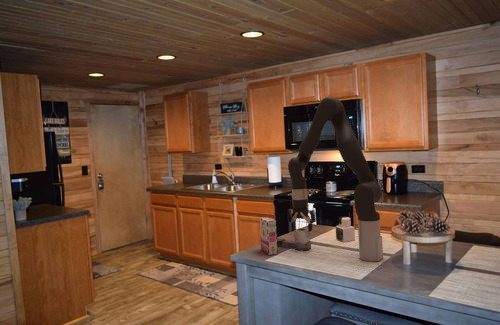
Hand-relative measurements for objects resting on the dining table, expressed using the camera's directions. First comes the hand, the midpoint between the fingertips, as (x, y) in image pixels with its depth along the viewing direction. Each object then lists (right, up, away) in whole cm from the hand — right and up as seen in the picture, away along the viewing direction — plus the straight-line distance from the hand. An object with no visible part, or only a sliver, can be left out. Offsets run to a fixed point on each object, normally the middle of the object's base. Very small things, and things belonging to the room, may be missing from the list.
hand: (302, 230), depth 187 cm
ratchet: (-5, -9, +5) cm, 12 cm away
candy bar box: (-16, -10, -2) cm, 19 cm away
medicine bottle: (+24, -7, +12) cm, 28 cm away
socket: (0, -6, +1) cm, 6 cm away
